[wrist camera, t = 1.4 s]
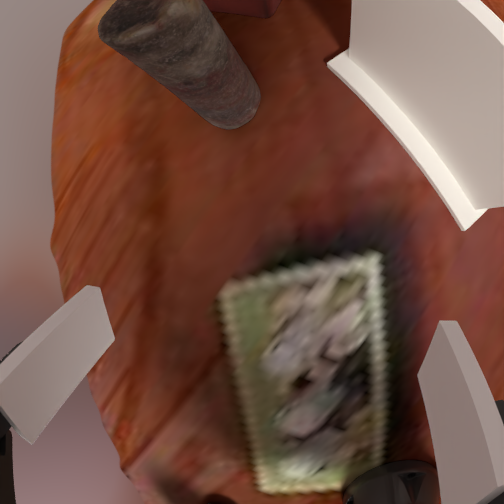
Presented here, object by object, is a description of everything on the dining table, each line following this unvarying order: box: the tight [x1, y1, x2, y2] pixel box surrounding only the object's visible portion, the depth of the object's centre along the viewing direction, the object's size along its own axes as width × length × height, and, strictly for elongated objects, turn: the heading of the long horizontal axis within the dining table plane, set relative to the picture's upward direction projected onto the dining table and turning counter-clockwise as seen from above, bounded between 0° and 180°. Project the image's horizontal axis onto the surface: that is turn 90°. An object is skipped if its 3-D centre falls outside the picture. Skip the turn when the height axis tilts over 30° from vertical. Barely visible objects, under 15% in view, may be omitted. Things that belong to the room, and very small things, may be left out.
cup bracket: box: [327, 0, 504, 231], centre depth 18 cm, size 24×14×20 cm, turn 38°
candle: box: [98, 0, 261, 129], centre depth 23 cm, size 8×7×20 cm
